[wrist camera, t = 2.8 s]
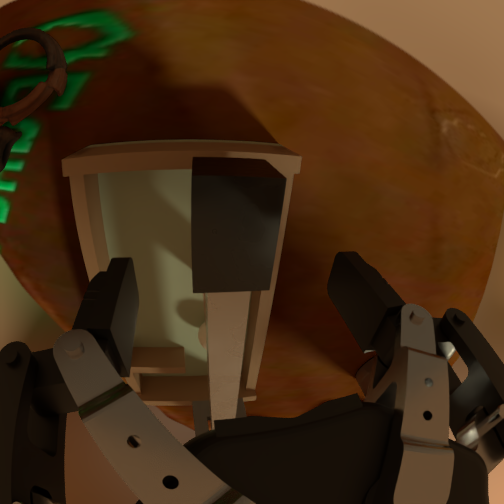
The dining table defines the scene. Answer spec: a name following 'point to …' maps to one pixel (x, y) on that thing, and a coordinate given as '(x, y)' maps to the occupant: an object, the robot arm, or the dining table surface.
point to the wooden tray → (166, 257)
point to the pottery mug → (3, 136)
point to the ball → (202, 335)
